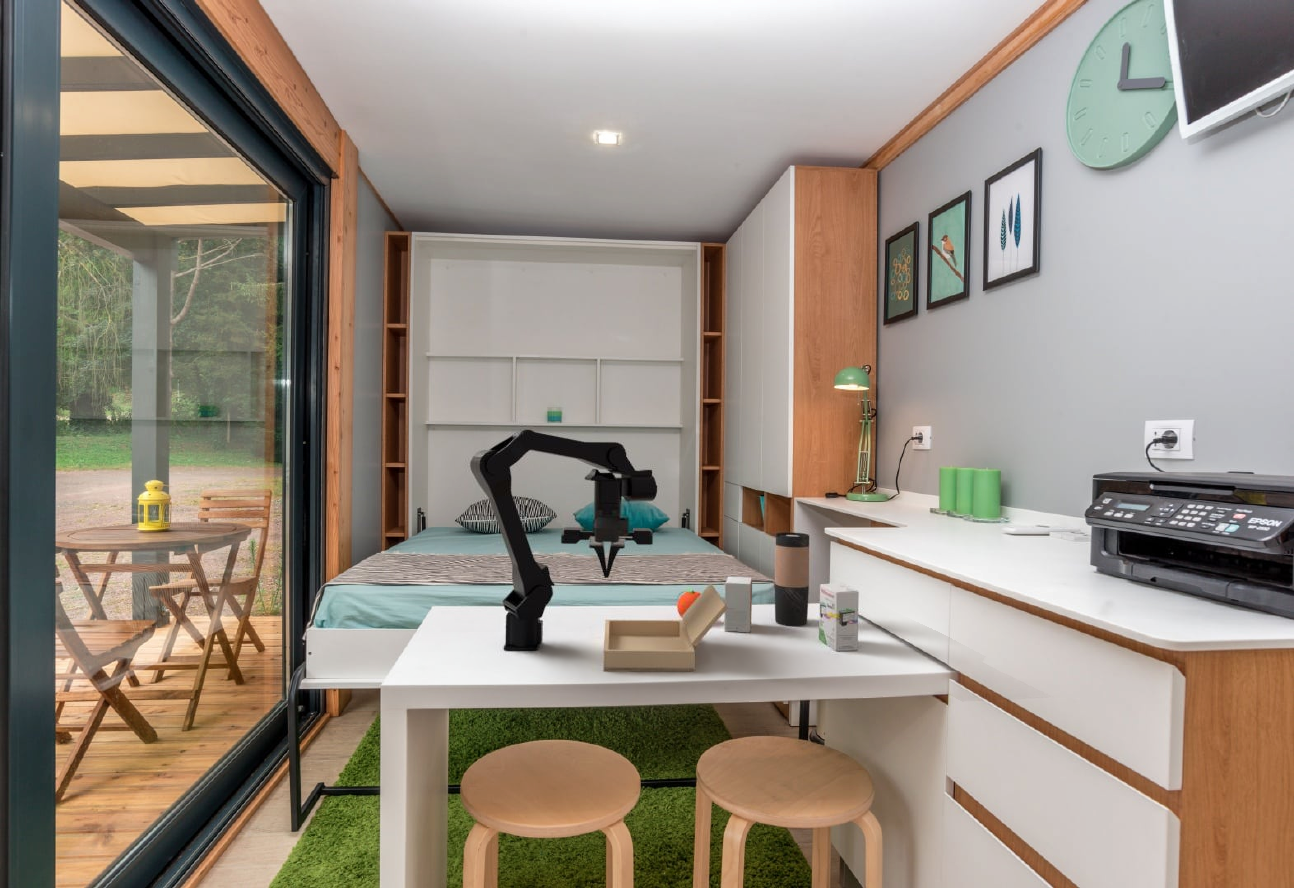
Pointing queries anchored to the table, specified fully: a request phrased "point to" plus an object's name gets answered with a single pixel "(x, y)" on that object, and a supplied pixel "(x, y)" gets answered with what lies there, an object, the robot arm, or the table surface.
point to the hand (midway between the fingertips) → (606, 577)
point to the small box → (738, 604)
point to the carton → (647, 646)
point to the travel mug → (791, 578)
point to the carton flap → (703, 614)
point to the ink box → (839, 616)
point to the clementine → (686, 601)
